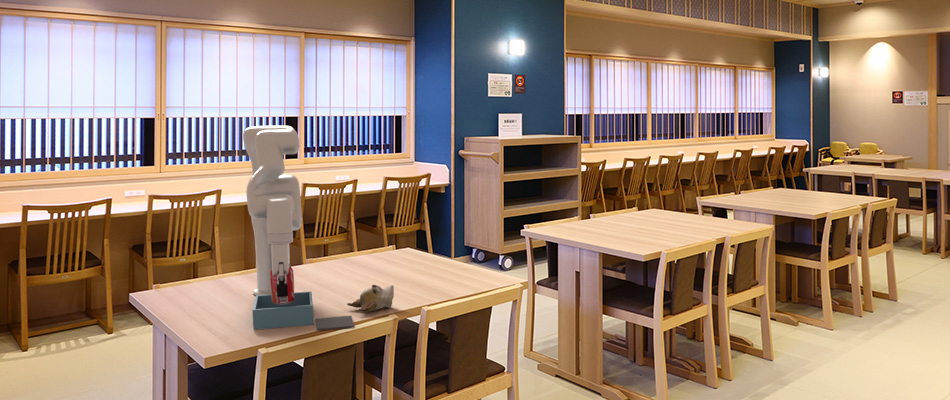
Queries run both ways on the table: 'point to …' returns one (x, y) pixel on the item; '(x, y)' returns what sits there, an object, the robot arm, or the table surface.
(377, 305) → the ceramic sculpture
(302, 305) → the open box
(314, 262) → the table surface
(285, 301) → the soda can
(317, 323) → the gray square plate
